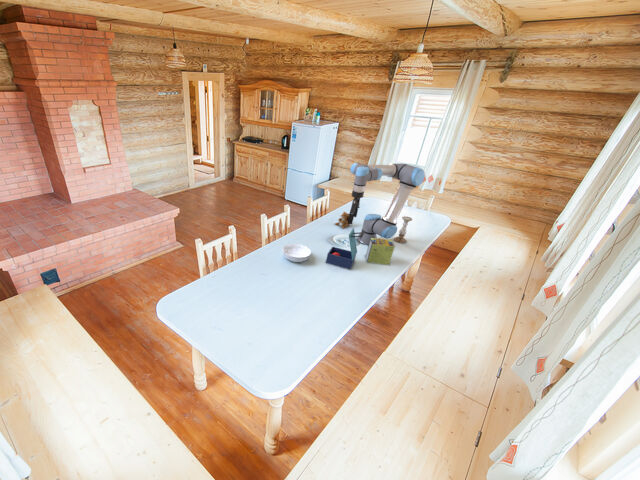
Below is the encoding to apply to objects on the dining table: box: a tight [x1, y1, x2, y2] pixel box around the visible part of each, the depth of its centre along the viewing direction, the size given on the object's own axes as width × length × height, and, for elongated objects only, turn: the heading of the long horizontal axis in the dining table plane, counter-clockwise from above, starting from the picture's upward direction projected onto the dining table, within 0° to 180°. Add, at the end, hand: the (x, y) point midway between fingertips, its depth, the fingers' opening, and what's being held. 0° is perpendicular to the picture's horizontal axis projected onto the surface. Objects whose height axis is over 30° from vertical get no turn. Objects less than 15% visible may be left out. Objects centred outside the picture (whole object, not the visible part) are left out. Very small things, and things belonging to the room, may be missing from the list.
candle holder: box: [394, 215, 413, 244], centre depth 259 cm, size 9×9×20 cm
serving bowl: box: [281, 243, 312, 263], centre depth 233 cm, size 21×21×7 cm
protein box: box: [365, 238, 396, 266], centre depth 231 cm, size 10×15×16 cm
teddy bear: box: [335, 211, 355, 229], centre depth 284 cm, size 10×14×13 cm
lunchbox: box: [325, 246, 357, 270], centre depth 229 cm, size 18×13×8 cm
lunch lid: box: [348, 227, 365, 260], centre depth 218 cm, size 18×13×8 cm
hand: (352, 220), depth 223 cm, fingers open, 13 cm apart
